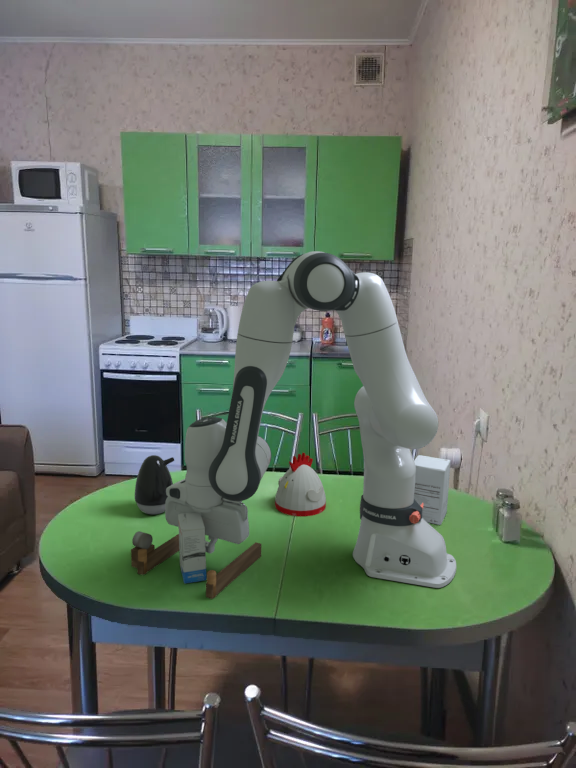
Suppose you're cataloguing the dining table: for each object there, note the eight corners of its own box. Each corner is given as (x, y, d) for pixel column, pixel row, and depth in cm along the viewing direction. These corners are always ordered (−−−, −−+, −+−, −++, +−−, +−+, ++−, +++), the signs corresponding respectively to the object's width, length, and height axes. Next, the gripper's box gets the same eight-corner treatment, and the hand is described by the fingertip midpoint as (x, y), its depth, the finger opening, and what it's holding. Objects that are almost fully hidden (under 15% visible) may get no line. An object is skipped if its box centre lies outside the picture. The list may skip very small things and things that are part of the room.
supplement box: (414, 505, 152) (417, 454, 149) (447, 512, 148) (451, 459, 145) (406, 518, 144) (409, 464, 141) (440, 525, 140) (445, 470, 137)
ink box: (207, 581, 113) (206, 528, 111) (182, 584, 112) (181, 530, 110) (201, 560, 121) (200, 510, 119) (178, 563, 120) (177, 512, 118)
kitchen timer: (264, 504, 151) (265, 452, 148) (301, 491, 161) (302, 442, 158) (299, 521, 141) (300, 466, 138) (336, 507, 150) (338, 454, 147)
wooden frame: (261, 556, 124) (262, 526, 122) (212, 599, 107) (212, 565, 106) (182, 533, 134) (182, 505, 132) (126, 569, 117) (125, 538, 116)
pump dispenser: (176, 516, 143) (175, 460, 139) (134, 520, 140) (132, 463, 137) (174, 501, 152) (173, 448, 149) (135, 504, 150) (133, 450, 147)
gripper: (255, 496, 116) (254, 556, 119) (178, 478, 126) (179, 534, 128) (238, 507, 111) (238, 570, 114) (159, 487, 120) (161, 545, 123)
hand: (206, 550), depth 121 cm, fingers closed
